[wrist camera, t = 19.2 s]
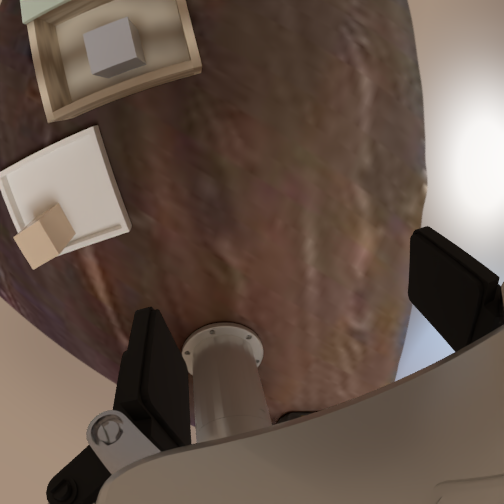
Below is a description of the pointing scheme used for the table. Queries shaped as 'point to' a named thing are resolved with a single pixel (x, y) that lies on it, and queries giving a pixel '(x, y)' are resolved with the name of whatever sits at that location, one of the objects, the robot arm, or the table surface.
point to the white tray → (68, 189)
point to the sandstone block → (45, 236)
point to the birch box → (76, 60)
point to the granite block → (114, 48)
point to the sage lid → (38, 8)
